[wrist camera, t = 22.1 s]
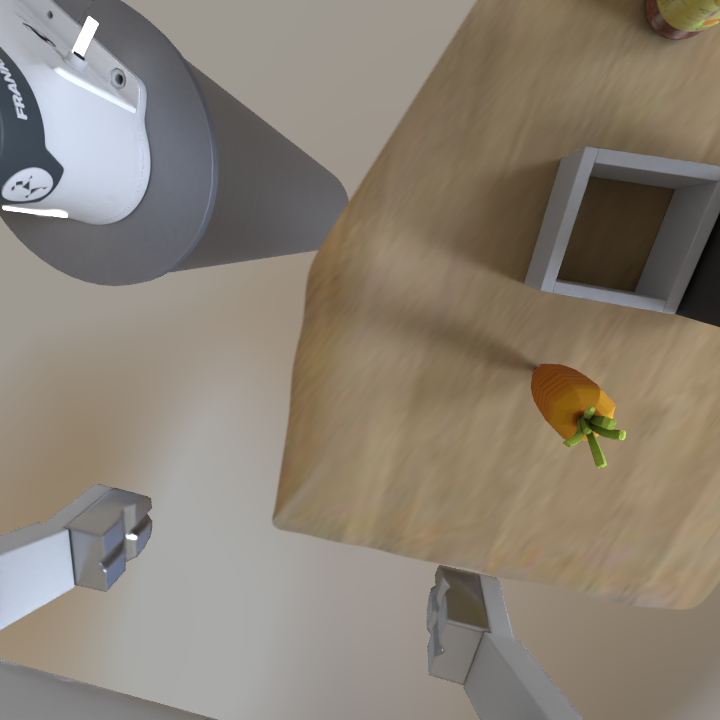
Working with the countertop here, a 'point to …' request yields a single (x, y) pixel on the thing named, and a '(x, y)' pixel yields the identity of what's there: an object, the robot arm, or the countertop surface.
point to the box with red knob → (671, 247)
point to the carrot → (575, 407)
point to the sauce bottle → (682, 17)
